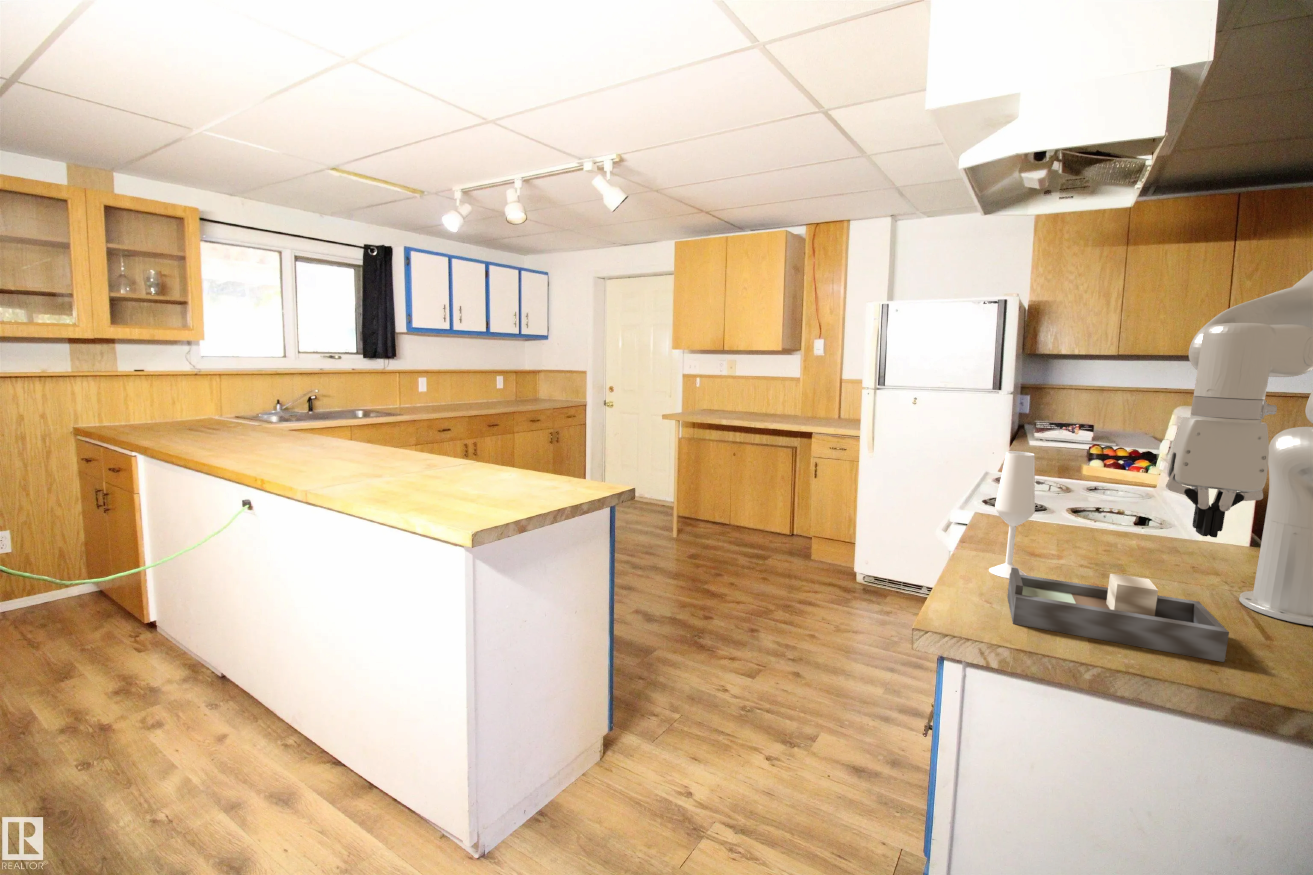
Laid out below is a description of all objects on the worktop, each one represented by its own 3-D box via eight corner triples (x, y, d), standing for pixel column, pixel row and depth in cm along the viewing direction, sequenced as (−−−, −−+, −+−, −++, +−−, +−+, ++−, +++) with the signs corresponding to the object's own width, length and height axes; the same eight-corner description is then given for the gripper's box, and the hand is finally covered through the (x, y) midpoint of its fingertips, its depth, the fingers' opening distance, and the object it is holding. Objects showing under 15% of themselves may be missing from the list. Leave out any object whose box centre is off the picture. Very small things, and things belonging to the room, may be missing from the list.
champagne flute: (992, 564, 125) (1003, 449, 121) (1030, 572, 120) (1043, 453, 117) (985, 573, 120) (996, 453, 116) (1024, 582, 115) (1038, 457, 112)
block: (1144, 609, 96) (1148, 579, 96) (1153, 621, 92) (1158, 589, 91) (1106, 602, 99) (1110, 573, 98) (1113, 614, 94) (1117, 583, 93)
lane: (1194, 628, 97) (1200, 592, 96) (1224, 662, 86) (1230, 622, 85) (1007, 597, 108) (1010, 564, 107) (1012, 623, 97) (1016, 587, 96)
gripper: (1283, 412, 87) (1261, 536, 90) (1153, 405, 94) (1136, 521, 96) (1310, 416, 81) (1286, 550, 83) (1168, 408, 87) (1149, 532, 89)
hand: (1205, 534), depth 90 cm, fingers closed
